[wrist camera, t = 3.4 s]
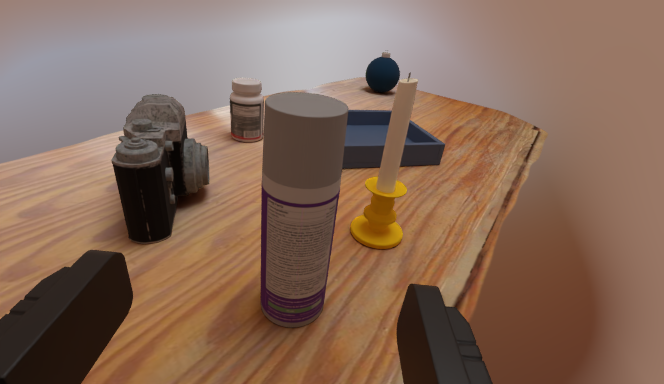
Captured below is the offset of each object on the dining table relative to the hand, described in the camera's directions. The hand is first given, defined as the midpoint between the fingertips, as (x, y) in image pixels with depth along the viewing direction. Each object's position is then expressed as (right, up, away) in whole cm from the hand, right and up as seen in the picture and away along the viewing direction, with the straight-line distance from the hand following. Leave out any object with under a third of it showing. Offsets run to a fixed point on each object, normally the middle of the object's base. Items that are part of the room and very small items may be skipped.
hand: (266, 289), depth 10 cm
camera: (-14, +2, +26) cm, 30 cm away
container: (-1, -6, +16) cm, 17 cm away
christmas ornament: (+14, +28, +78) cm, 85 cm away
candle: (+6, -1, +25) cm, 26 cm away
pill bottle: (-11, +11, +43) cm, 46 cm away
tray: (+7, +10, +45) cm, 47 cm away
